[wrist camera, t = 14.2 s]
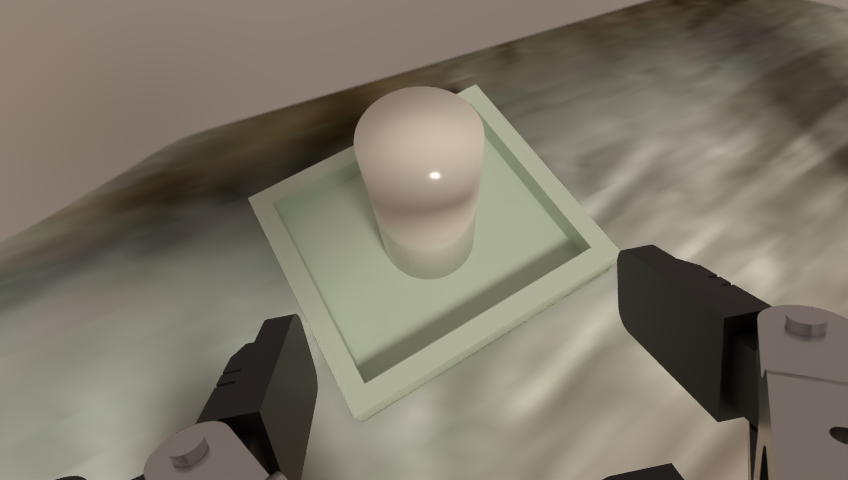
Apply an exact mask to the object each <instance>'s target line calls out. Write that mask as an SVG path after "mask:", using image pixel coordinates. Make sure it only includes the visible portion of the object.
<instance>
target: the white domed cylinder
mask: <svg viewBox="0 0 848 480" xmlns="http://www.w3.org/2000/svg"><path fill="white" fill-rule="evenodd" d="M484 140H485V137H484V128H483V124H482V121H481V119H480V117H479V115H478V113H477V112H476V111H475V109H474V108H473V107H472V106H471V105H470V104H469V103H468V102H467V101H465V100H464V99H463V98H461V97H460V96H458V95H456V94H454V93H452V92H450V91H447V90H444V89H440V88H435V87H426V86H421V87H409V88H404V89H400V90H397V91H394V92H392V93H389V94H387V95H385V96H383V97H382V98H380V99H378V100H377V101H376V102H374V103H373V104H372V105H371V106H370V107H369V108H368V109H367V110H366V111H365V112H364V114H363V115H362V117H361V118H360V120H359V122H358V124H357V126H356V130H355V134H354V150H355V154H356V158H357V161H358V164H359V167H360V170H361V174H362V177H363V180H364V183H365V186H366V189H367V193H368V196H369V199H370V202H371V205H372V209H373V212H374V215H375V218H376V221H377V225H378V228H379V231H380V234H381V237H382V240H383V244H384V247H385V250H386V253H387V255H388V257H389V259H390V260H391V262H392V263H393V264H394V265H395V266H396V267H397V268H398V269H399V270H400V271H402V272H403V273H405V274H407V275H409V276H411V277H414V278H418V279H438V278H442V277H445V276H447V275H450V274H452V273H453V272H455V271H456V270H458V269H459V268H460V267H461V266H462V265H463V264H464V263H465V262H466V261H467V259H468V257H469V256H470V253H471V251H472V248H473V243H474V234H475V225H476V215H477V206H478V197H479V187H480V178H481V168H482V159H483V150H484Z"/></svg>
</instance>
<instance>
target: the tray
mask: <svg viewBox="0 0 848 480" xmlns="http://www.w3.org/2000/svg"><path fill="white" fill-rule="evenodd" d="M456 95H458V96H460V97H461V98H463V99H464V100H465V101H467V102H468V103H469V104H470V105H471V106H472V107H473V108H474V109H475V111H476V112H477V113H478V115H479V117H480V119H481V121H482V124H483V128H484V137H485V140H484V150H483V159H482V168H481V178H480V187H479V197H478V206H477V215H476V225H475V234H474V243H473V248H472V251H471V253H470V256H469V257H468V259H467V261H466V262H465V263H464V264H463V265H462V266H461V267H460V268H459V269H458V270H456V271H455V272H453V273H452V274H450V275H447V276H445V277H442V278H438V279H418V278H414V277H411V276H409V275H407V274H405V273H403V272H402V271H400V270H399V269H398V268H397V267H396V266H395V265H394V264H393V263H392V262H391V260H390V259H389V257H388V255H387V253H386V250H385V247H384V244H383V240H382V237H381V234H380V231H379V228H378V225H377V221H376V218H375V215H374V212H373V209H372V205H371V202H370V199H369V196H368V193H367V189H366V186H365V183H364V180H363V177H362V174H361V170H360V167H359V164H358V161H357V158H356V154H355V150H354V145H353V146H351V147H349V148H347V149H345V150H343V151H341V152H339V153H337V154H335V155H333V156H331V157H329V158H327V159H325V160H323V161H321V162H319V163H317V164H315V165H313V166H311V167H309V168H307V169H305V170H303V171H301V172H299V173H297V174H295V175H293V176H291V177H289V178H287V179H285V180H283V181H281V182H279V183H277V184H275V185H273V186H271V187H269V188H267V189H265V190H263V191H261V192H259V193H257V194H255V195H253V196H251V197H249V198H248V200H249V202H250V204H251V206H252V208H253V210H254V212H255V214H256V216H257V218H258V220H259V222H260V225H261V227H262V229H263V231H264V233H265V235H266V237H267V239H268V241H269V243H270V245H271V247H272V249H273V251H274V253H275V256H276V258H277V260H278V262H279V264H280V266H281V268H282V270H283V272H284V274H285V276H286V278H287V280H288V282H289V284H290V286H291V289H292V291H293V293H294V295H295V297H296V299H297V301H298V303H299V305H300V307H301V309H302V311H303V313H304V315H305V317H306V320H307V322H308V324H309V326H310V328H311V330H312V332H313V334H314V336H315V338H316V340H317V342H318V344H319V346H320V348H321V350H322V353H323V355H324V357H325V359H326V361H327V363H328V365H329V367H330V369H331V371H332V373H333V375H334V377H335V379H336V381H337V384H338V386H339V388H340V390H341V392H342V394H343V396H344V398H345V400H346V402H347V404H348V406H349V408H350V410H351V412H352V414H353V417H354V418H355V419H358V420H360V421H365V420H366V419H368V418H370V417H371V416H373V415H375V414H376V413H378V412H379V411H381V410H383V409H384V408H386V407H387V406H389V405H391V404H392V403H394V402H396V401H397V400H399V399H400V398H402V397H404V396H405V395H407V394H409V393H410V392H412V391H413V390H415V389H417V388H418V387H420V386H422V385H423V384H425V383H426V382H428V381H430V380H431V379H433V378H434V377H436V376H438V375H439V374H441V373H443V372H444V371H446V370H447V369H449V368H451V367H452V366H454V365H456V364H457V363H459V362H460V361H462V360H464V359H465V358H467V357H469V356H470V355H472V354H473V353H475V352H477V351H478V350H480V349H481V348H483V347H485V346H486V345H488V344H490V343H491V342H493V341H494V340H496V339H498V338H499V337H501V336H503V335H504V334H506V333H507V332H509V331H511V330H512V329H514V328H516V327H517V326H519V325H520V324H522V323H524V322H525V321H527V320H528V319H530V318H532V317H533V316H535V315H537V314H538V313H540V312H541V311H543V310H545V309H546V308H548V307H550V306H551V305H553V304H554V303H556V302H558V301H559V300H561V299H563V298H564V297H566V296H567V295H569V294H571V293H572V292H574V291H575V290H577V289H579V288H580V287H582V286H584V285H585V284H587V283H588V282H590V281H592V280H593V279H595V278H597V277H598V276H600V275H601V274H603V273H605V272H606V271H608V270H609V269H610V268H611V267H612V265H613V264H614V263H615V262H616V261H617V258H618V254H619V252H620V251H619V250H618V248H617V247H616V246H615V245H614V244H613V243H612V241H611V240H610V239H609V238H608V237H607V236H606V235H605V233H604V232H603V231H602V230H601V229H600V228H599V226H598V225H597V224H596V223H595V222H594V221H593V219H592V218H591V217H590V216H589V215H588V214H587V213H586V211H585V210H584V209H583V208H582V207H581V206H580V204H579V203H578V202H577V201H576V200H575V199H574V197H573V196H572V195H571V194H570V193H569V192H568V191H567V189H566V188H565V187H564V186H563V185H562V184H561V182H560V181H559V180H558V179H557V178H556V177H555V175H554V174H553V173H552V172H551V171H550V170H549V169H548V167H547V166H546V165H545V164H544V163H543V162H542V160H541V159H540V158H539V157H538V156H537V155H536V153H535V152H534V151H533V150H532V149H531V148H530V147H529V145H528V144H527V143H526V142H525V141H524V140H523V138H522V137H521V136H520V135H519V134H518V133H517V131H516V130H515V129H514V128H513V127H512V126H511V125H510V123H509V122H508V121H507V120H506V119H505V118H504V116H503V115H502V114H501V113H500V112H499V111H498V109H497V108H496V107H495V106H494V105H493V104H492V102H491V101H490V100H489V99H488V98H487V97H486V96H485V94H484V93H483V92H482V91H481V90H480V89H479V87H478V86H477V85H474V86H472V87H470V88H468V89H466V90H464V91H462V92H460V93H458V94H456Z"/></svg>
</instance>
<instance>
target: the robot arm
mask: <svg viewBox="0 0 848 480" xmlns="http://www.w3.org/2000/svg"><path fill="white" fill-rule="evenodd" d="M617 274H618V307H619V314H620V317H621V320H622V323H623V325H624V327H625V328H626V330H627V331H628V332H629V333H630V334H631V335H632V336H633V337H634V338H635V339H636V340H637V341H638V342H639V343H640V344H641V345H642V346H643V347H644V348H645V349H646V350H647V351H648V352H649V353H650V354H651V355H652V356H653V357H654V358H655V359H656V360H657V361H658V362H659V363H660V365H661V366H662V367H663V368H664V369H665V370H666V371H667V372H668V373H669V374H670V375H671V376H672V377H673V378H674V379H675V380H676V381H677V382H678V383H679V384H680V385H681V386H682V387H683V388H684V389H685V390H686V391H687V392H688V393H689V394H690V395H691V396H692V397H693V398H694V399H695V400H696V401H697V402H698V403H699V404H700V405H701V406H702V407H703V408H704V409H705V410H706V411H707V412H708V413H709V414H710V415H711V416H712V417H713V418H714V419H715V420H716V421H717V422H721V421H726V420H731V419H735V418H740V417H745V418H746V419H747V420H748V433H747V449H748V480H848V319H846V318H844V317H842V316H840V315H838V314H835V313H833V312H830V311H827V310H823V309H819V308H814V307H809V306H801V305H780V306H774V307H772V306H770V305H769V304H767V303H765V302H763V301H762V300H760V299H758V298H756V297H755V296H753V295H751V294H749V293H748V292H746V291H744V290H742V289H741V288H739V287H737V286H735V285H731V283H730V282H728V281H727V280H725V279H723V278H721V277H717V275H716V274H715V273H713V272H711V271H709V270H708V269H706V268H704V267H702V266H701V265H697V264H694V263H690V262H687V261H683V260H680V259H676V258H675V257H673V256H671V255H670V254H668V253H666V252H665V251H663V250H661V249H660V248H658V247H656V246H654V245H647V246H642V247H637V248H631V249H626V250H622V251H620V252H619V254H618V258H617ZM317 390H318V385H317V375H316V370H315V366H314V363H313V359H312V356H311V352H310V349H309V346H308V342H307V339H306V336H305V332H304V329H303V325H302V322H301V320H300V318H299V316H298V315H297V314H293V315H288V316H283V317H277V318H272V319H267V320H265V321H264V323H263V325H262V327H261V329H260V331H259V333H258V335H257V337H256V340H255V342H254V343H248V344H245V345H244V346H243V347H242V348H241V349H240V350H239V351H238V352H237V353H236V354H234V355H233V356H232V357H231V358H230V360H229V362H228V364H227V366H226V368H225V370H224V371H223V375H222V376H221V377H220V379H219V381H218V383H217V388H214V390H213V392H212V394H211V396H210V398H209V400H208V402H207V403H206V405H205V407H204V409H203V411H202V413H201V415H200V417H199V419H198V420H197V422H196V424H195V425H193V426H190V427H188V428H185V429H183V430H181V431H180V432H178V433H176V434H174V435H173V436H171V437H170V438H168V439H167V440H166V441H164V442H163V443H162V444H161V445H160V446H159V447H158V448H157V449H156V450H155V451H154V452H153V453H152V455H151V456H150V457H149V459H148V461H147V462H146V465H145V468H144V474H143V475H141V476H139V477H136V478H134V479H132V480H301V475H302V470H303V465H304V460H305V454H306V449H307V444H308V439H309V434H310V429H311V423H312V418H313V413H314V408H315V403H316V398H317ZM56 480H86V479H85V478H83V477H79V476H69V477H63V478H60V479H56ZM603 480H684V479H683V478H682V476H681V475H680V474H679V473H678V471H677V470H676V469H675V467H674V466H673V465H672V463H670V464H665V465H660V466H655V467H651V468H646V469H641V470H637V471H632V472H627V473H623V474H618V475H613V476H609V477H607V478H605V479H603Z"/></svg>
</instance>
